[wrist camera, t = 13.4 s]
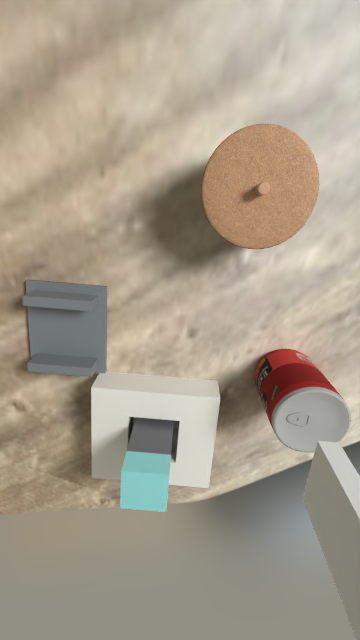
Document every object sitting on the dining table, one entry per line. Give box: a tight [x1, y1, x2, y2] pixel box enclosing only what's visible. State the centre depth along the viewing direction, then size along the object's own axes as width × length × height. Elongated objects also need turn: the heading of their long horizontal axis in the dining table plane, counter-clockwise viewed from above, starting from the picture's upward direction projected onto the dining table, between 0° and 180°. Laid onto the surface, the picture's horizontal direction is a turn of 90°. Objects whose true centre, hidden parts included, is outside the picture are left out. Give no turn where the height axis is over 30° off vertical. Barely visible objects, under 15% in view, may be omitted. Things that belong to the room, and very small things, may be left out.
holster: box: [22, 280, 107, 377], centre depth 41 cm, size 10×12×4 cm
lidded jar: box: [201, 124, 319, 249], centre depth 33 cm, size 11×11×9 cm
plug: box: [120, 417, 174, 512], centre depth 40 cm, size 5×5×12 cm
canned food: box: [255, 349, 351, 452], centre depth 39 cm, size 8×8×11 cm
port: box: [91, 371, 220, 488], centre depth 45 cm, size 16×14×4 cm
